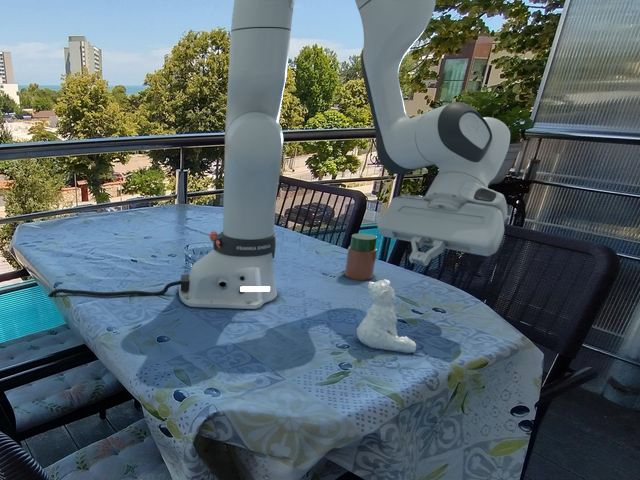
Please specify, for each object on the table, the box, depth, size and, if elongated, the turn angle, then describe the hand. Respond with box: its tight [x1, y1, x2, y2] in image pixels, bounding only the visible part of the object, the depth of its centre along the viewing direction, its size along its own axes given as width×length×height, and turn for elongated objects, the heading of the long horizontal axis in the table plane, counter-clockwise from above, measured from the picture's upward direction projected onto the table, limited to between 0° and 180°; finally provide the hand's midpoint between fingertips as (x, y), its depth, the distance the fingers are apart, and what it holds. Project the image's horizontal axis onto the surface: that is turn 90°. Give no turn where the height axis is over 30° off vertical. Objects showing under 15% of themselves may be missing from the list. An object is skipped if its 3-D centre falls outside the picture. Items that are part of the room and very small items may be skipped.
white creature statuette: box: [355, 279, 417, 354], centre depth 82 cm, size 10×9×12 cm
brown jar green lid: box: [344, 232, 378, 281], centre depth 113 cm, size 6×6×10 cm
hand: (417, 262), depth 84 cm, fingers closed
